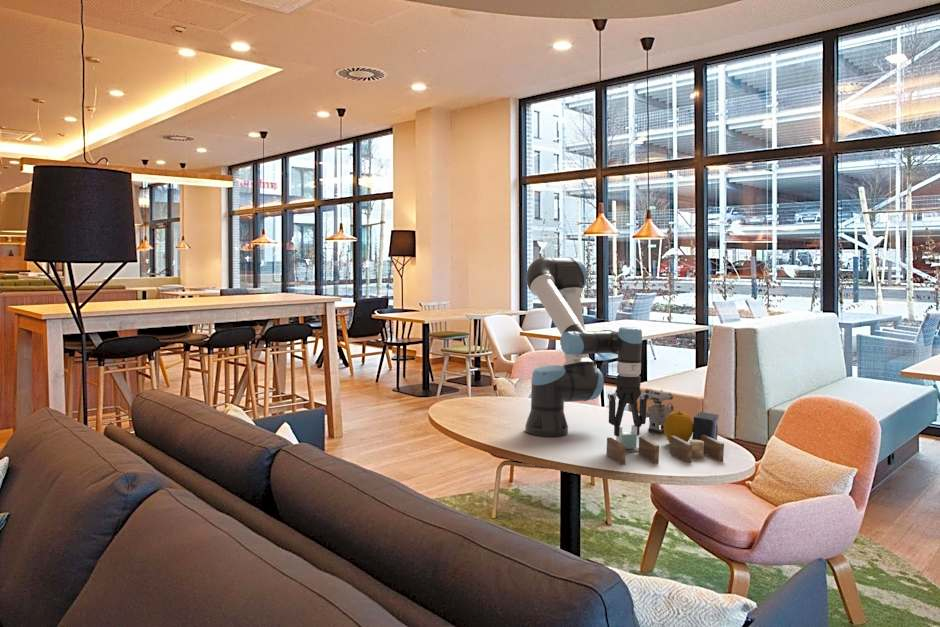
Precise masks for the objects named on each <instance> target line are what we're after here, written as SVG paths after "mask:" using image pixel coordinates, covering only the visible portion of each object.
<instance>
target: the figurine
mask: <svg viewBox="0 0 940 627" xmlns="http://www.w3.org/2000/svg"><path fill="white" fill-rule="evenodd" d="M643 393H645V394H648V396H649V397H648V399H647V400H650V401H653V404H651V406H648V407H647V411H648V412H646V419H647V418H648V421H649V424H648V425H649V426H648V430H647V431H648V433H651V434H656V435H658V434H660V433H661V430H663V425H664V422H665V419H666V417H667V416H668V414H670V413H671V412H675V411H674V410H675V409H674V405H673V404H672V403H671V402H669V403H667V405H665V404H664V403H663V404H662V402H664V401H666V400H667V401H671V400H673V399H674V395H673V394H672V393H671V392H667V391H663V389H660V390H656V389H652V388H645V389H644V392H643ZM669 404H670V405H669ZM660 429H661V430H660Z"/></svg>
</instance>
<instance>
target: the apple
mask: <svg viewBox="0 0 940 627" xmlns="http://www.w3.org/2000/svg"><path fill="white" fill-rule="evenodd" d="M662 430H663V433H664V435H665V437H666V440H667V442H668V443H669V444H670V436H676V437H678V438H680V439H682V440H684V441H686V442H688V443H689V440H691V439H692V436H693V419H692V418H691V416H690V414H689V413H687V412H685V411H680V410H679V411H674V412H671V413H670V414H668V416H667V417H666V419H665V422H664V425H663V429H662Z"/></svg>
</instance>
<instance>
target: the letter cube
mask: <svg viewBox="0 0 940 627" xmlns="http://www.w3.org/2000/svg"><path fill="white" fill-rule="evenodd" d="M622 445H624V446H626V449H631V448H636V447H637V446H636V434H634V433H632V432H631V431H622Z"/></svg>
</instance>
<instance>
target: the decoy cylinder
mask: <svg viewBox="0 0 940 627" xmlns="http://www.w3.org/2000/svg"><path fill="white" fill-rule="evenodd" d="M688 443H690V444H692V456H691V459H695V458H696V459H697V460H698V459H700V460H701V458H702V459H703V458H704V441H701V440H692V439H689V441H688Z"/></svg>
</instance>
